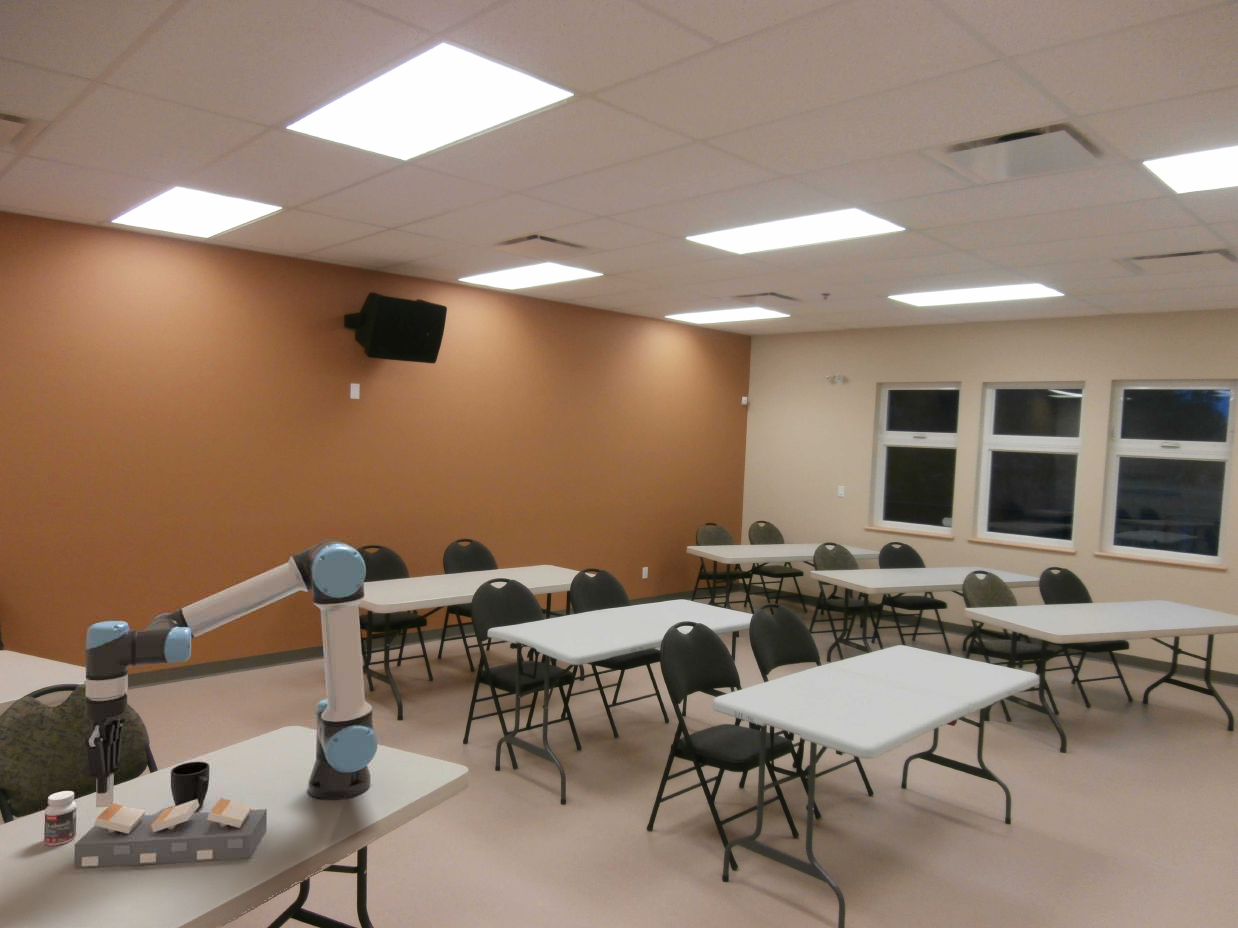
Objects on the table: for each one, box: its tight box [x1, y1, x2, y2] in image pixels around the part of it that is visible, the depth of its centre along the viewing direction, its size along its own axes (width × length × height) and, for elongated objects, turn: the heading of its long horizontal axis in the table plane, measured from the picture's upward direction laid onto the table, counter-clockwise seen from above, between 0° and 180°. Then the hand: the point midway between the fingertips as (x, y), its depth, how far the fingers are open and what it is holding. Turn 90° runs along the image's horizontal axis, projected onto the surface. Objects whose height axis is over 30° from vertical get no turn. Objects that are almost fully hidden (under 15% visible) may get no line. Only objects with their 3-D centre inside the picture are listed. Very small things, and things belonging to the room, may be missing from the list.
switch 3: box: [207, 797, 253, 828], centre depth 171 cm, size 7×7×2 cm
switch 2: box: [151, 799, 199, 832], centre depth 169 cm, size 7×7×2 cm
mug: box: [170, 761, 210, 811], centre depth 188 cm, size 8×12×10 cm
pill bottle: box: [43, 790, 77, 847], centre depth 172 cm, size 6×6×10 cm
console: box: [73, 808, 268, 870], centre depth 169 cm, size 34×12×6 cm, turn 99°
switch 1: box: [93, 802, 146, 834], centre depth 167 cm, size 7×7×2 cm
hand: (104, 805), depth 167 cm, fingers closed
